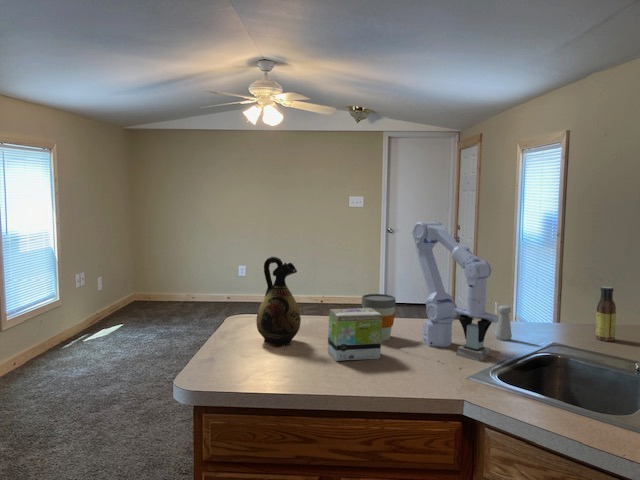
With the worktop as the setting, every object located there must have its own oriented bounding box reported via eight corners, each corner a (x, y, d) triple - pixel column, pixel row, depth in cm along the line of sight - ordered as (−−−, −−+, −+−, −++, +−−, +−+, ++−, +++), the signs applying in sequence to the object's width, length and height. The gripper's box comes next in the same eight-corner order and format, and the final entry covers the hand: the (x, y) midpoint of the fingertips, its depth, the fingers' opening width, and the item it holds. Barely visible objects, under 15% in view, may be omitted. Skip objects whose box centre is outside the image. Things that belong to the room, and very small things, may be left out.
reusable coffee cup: (401, 340, 174) (402, 299, 173) (370, 343, 170) (371, 301, 168) (384, 331, 186) (385, 292, 185) (354, 334, 181) (355, 294, 180)
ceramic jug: (308, 340, 173) (309, 256, 170) (287, 352, 159) (288, 261, 156) (267, 333, 180) (267, 253, 177) (243, 344, 166) (244, 258, 163)
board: (475, 348, 167) (476, 338, 167) (501, 354, 161) (501, 344, 160) (454, 357, 157) (455, 347, 157) (481, 364, 151) (481, 353, 150)
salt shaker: (493, 342, 175) (495, 306, 174) (495, 338, 180) (497, 303, 179) (510, 344, 172) (512, 308, 171) (512, 340, 177) (514, 305, 176)
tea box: (336, 362, 150) (337, 315, 149) (327, 352, 160) (328, 308, 158) (381, 359, 154) (382, 313, 153) (369, 349, 164) (371, 306, 162)
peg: (477, 349, 153) (478, 327, 153) (465, 346, 156) (467, 325, 156) (483, 347, 156) (484, 325, 156) (471, 344, 159) (472, 323, 159)
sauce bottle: (609, 337, 183) (613, 285, 182) (618, 342, 177) (622, 288, 175) (591, 336, 184) (595, 285, 182) (599, 341, 178) (603, 288, 176)
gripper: (503, 300, 152) (501, 342, 154) (461, 293, 163) (460, 333, 164) (493, 303, 147) (491, 347, 149) (451, 296, 158) (449, 337, 159)
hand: (474, 340), depth 156 cm, fingers closed on peg, 4 cm apart
